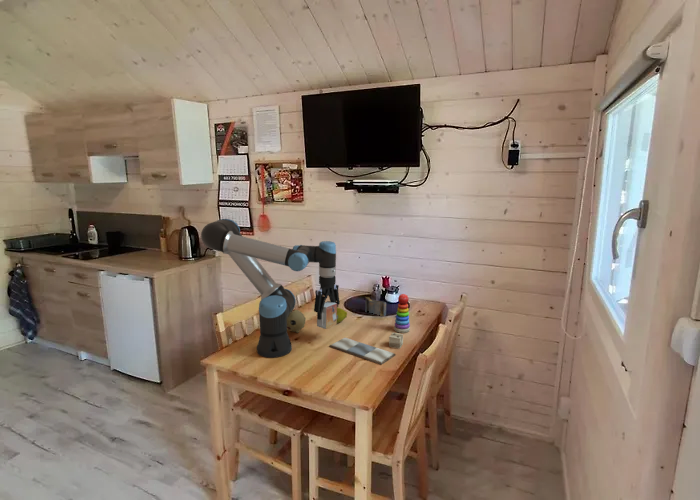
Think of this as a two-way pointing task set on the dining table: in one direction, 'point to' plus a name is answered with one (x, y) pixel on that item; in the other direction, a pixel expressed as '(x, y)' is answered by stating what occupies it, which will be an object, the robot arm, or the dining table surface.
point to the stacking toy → (402, 315)
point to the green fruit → (341, 315)
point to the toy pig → (295, 321)
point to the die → (396, 340)
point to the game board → (363, 350)
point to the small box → (329, 315)
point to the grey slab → (375, 307)
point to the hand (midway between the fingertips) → (326, 322)
